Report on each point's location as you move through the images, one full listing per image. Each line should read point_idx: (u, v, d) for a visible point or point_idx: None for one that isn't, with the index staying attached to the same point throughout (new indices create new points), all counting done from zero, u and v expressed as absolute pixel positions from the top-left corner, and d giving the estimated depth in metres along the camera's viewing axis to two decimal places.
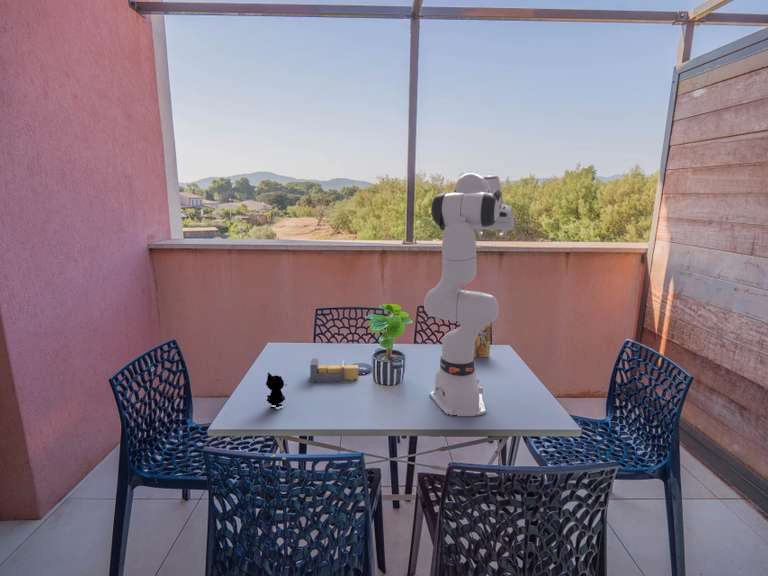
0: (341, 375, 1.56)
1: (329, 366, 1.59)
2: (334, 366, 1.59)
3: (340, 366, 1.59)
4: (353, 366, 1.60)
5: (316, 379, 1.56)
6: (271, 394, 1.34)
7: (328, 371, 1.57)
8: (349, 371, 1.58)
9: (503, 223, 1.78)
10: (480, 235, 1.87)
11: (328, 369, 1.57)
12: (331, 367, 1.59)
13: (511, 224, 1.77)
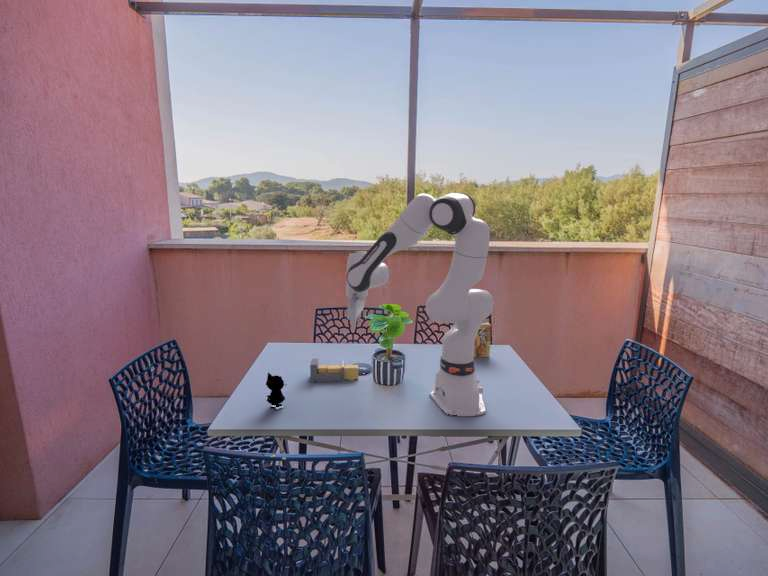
0: (341, 375, 1.56)
1: (329, 366, 1.59)
2: (334, 366, 1.59)
3: (340, 366, 1.59)
4: (353, 366, 1.60)
5: (316, 379, 1.56)
6: (271, 394, 1.34)
7: (328, 371, 1.57)
8: (349, 370, 1.58)
9: (363, 301, 1.67)
10: (355, 325, 1.59)
11: (328, 369, 1.57)
12: (331, 367, 1.58)
13: (365, 300, 1.71)
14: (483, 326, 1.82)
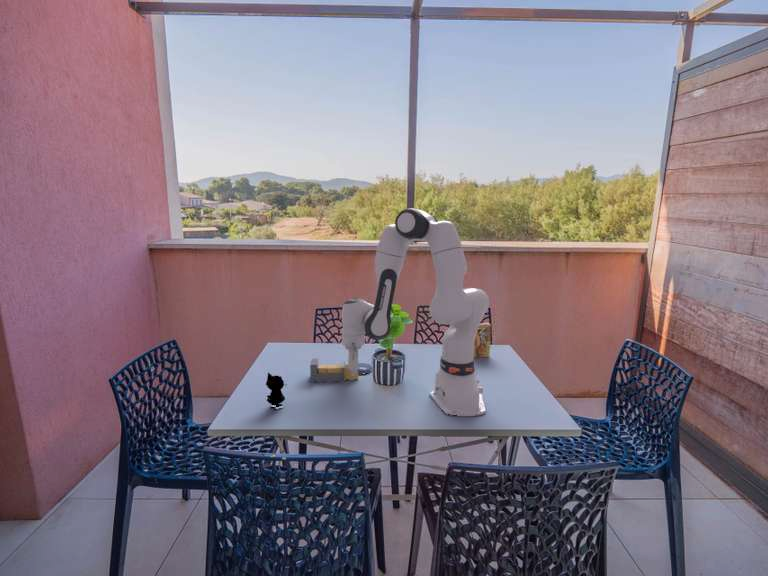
0: (341, 375, 1.56)
1: (329, 366, 1.59)
2: (334, 366, 1.59)
3: (340, 366, 1.59)
4: None
5: (316, 379, 1.56)
6: (271, 394, 1.34)
7: (328, 371, 1.57)
8: None
9: None
10: None
11: (328, 369, 1.57)
12: (331, 366, 1.58)
13: None
14: (483, 326, 1.82)
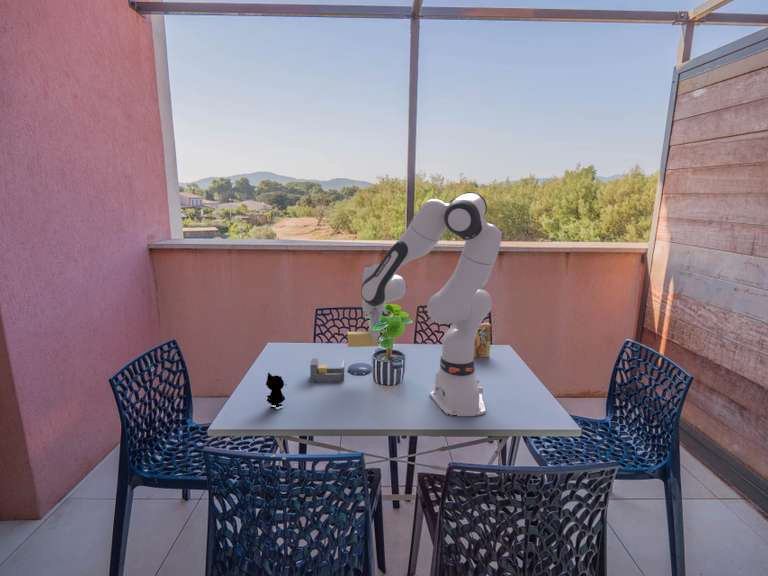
0: (341, 375, 1.56)
1: (349, 332, 1.57)
2: (354, 332, 1.57)
3: (360, 332, 1.57)
4: None
5: (316, 379, 1.56)
6: (271, 394, 1.34)
7: (348, 337, 1.55)
8: (369, 336, 1.56)
9: None
10: (376, 339, 1.56)
11: (348, 335, 1.55)
12: (351, 333, 1.56)
13: None
14: (483, 326, 1.82)
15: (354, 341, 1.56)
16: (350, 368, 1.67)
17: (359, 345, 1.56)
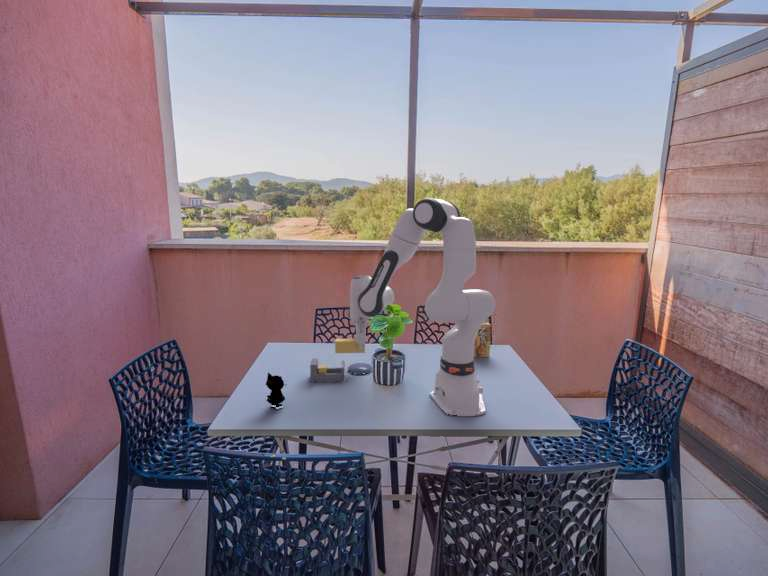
0: (341, 375, 1.56)
1: (337, 339, 1.66)
2: (341, 339, 1.66)
3: (347, 339, 1.66)
4: None
5: (316, 379, 1.56)
6: (271, 394, 1.34)
7: (336, 344, 1.64)
8: (356, 344, 1.65)
9: None
10: (362, 346, 1.65)
11: (336, 342, 1.64)
12: (339, 340, 1.65)
13: None
14: (483, 326, 1.82)
15: (342, 348, 1.65)
16: (350, 368, 1.67)
17: (346, 352, 1.65)
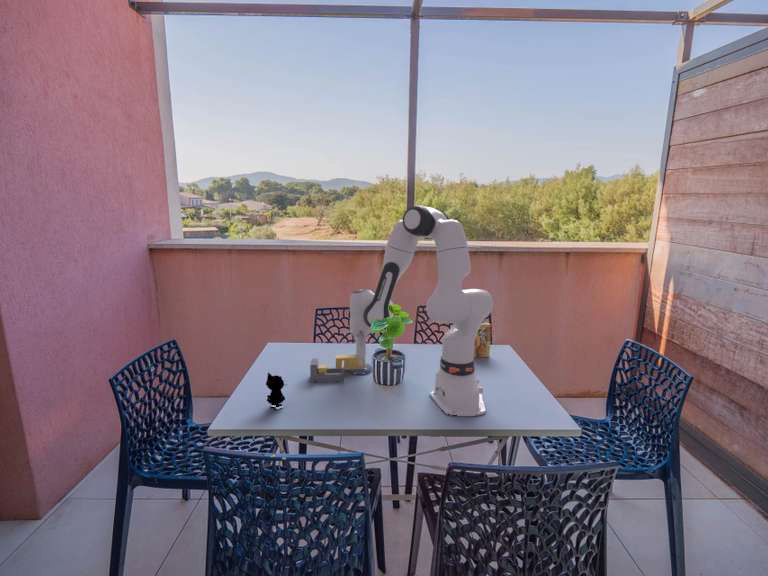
0: (341, 375, 1.56)
1: (337, 356, 1.67)
2: (342, 356, 1.67)
3: (347, 356, 1.67)
4: None
5: (316, 379, 1.56)
6: (271, 394, 1.34)
7: (336, 361, 1.65)
8: (356, 360, 1.66)
9: None
10: (362, 361, 1.63)
11: (336, 359, 1.65)
12: (339, 357, 1.66)
13: None
14: (483, 326, 1.82)
15: None
16: None
17: (346, 368, 1.66)
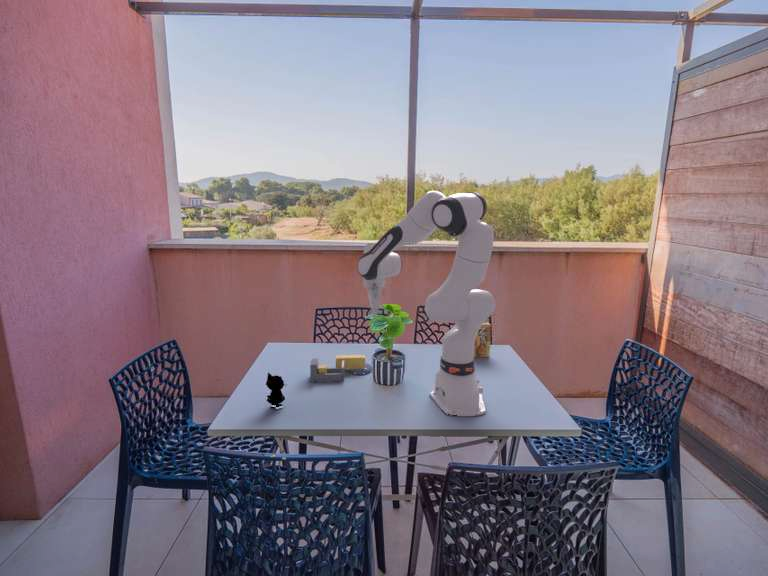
0: (341, 375, 1.56)
1: (337, 356, 1.67)
2: (342, 356, 1.67)
3: (347, 356, 1.67)
4: (360, 356, 1.67)
5: (316, 379, 1.56)
6: (271, 394, 1.34)
7: (336, 361, 1.65)
8: (356, 360, 1.66)
9: None
10: None
11: (336, 359, 1.65)
12: (339, 357, 1.66)
13: None
14: (483, 326, 1.82)
15: None
16: None
17: (346, 368, 1.66)
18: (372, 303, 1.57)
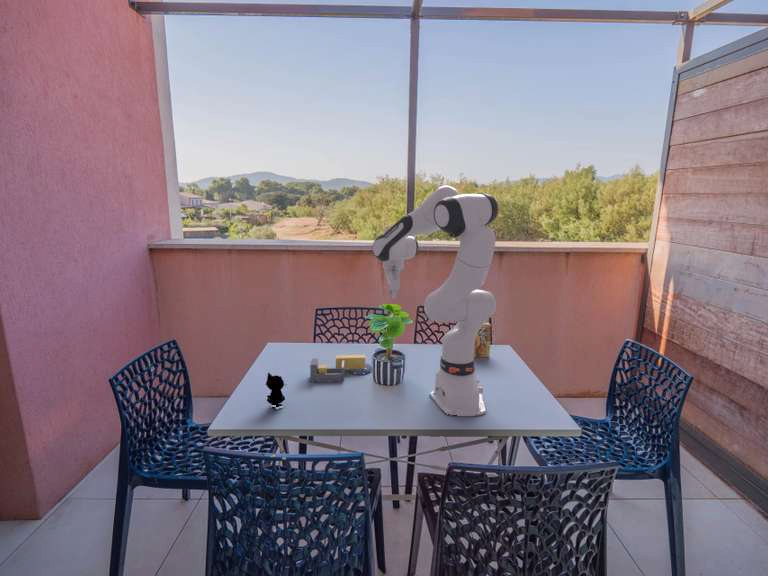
0: (341, 375, 1.56)
1: (337, 356, 1.67)
2: (342, 356, 1.67)
3: (348, 356, 1.67)
4: (360, 356, 1.67)
5: (316, 379, 1.56)
6: (271, 394, 1.34)
7: (336, 361, 1.65)
8: (356, 360, 1.66)
9: None
10: (395, 296, 1.69)
11: (336, 359, 1.65)
12: (339, 357, 1.66)
13: None
14: (483, 326, 1.82)
15: None
16: None
17: (346, 368, 1.66)
18: (392, 284, 1.63)
